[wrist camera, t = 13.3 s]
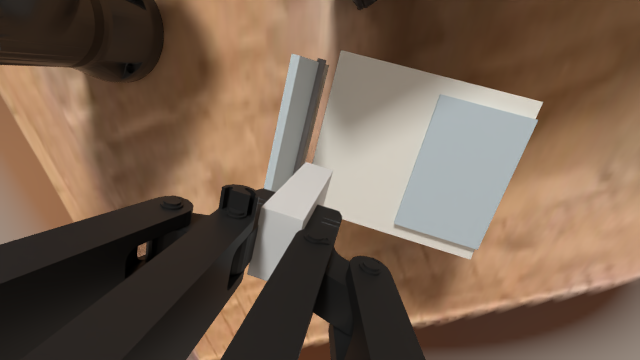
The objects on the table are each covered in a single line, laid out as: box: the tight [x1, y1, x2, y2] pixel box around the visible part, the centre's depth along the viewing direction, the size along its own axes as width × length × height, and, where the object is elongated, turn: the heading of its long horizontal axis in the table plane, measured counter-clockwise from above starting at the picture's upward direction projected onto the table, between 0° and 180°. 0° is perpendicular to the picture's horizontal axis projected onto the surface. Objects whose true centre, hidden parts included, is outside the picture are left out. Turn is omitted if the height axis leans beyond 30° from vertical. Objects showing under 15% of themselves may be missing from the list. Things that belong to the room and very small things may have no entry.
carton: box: [312, 50, 543, 259], centre depth 38 cm, size 18×16×15 cm
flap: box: [264, 54, 329, 192], centre depth 32 cm, size 15×14×1 cm
